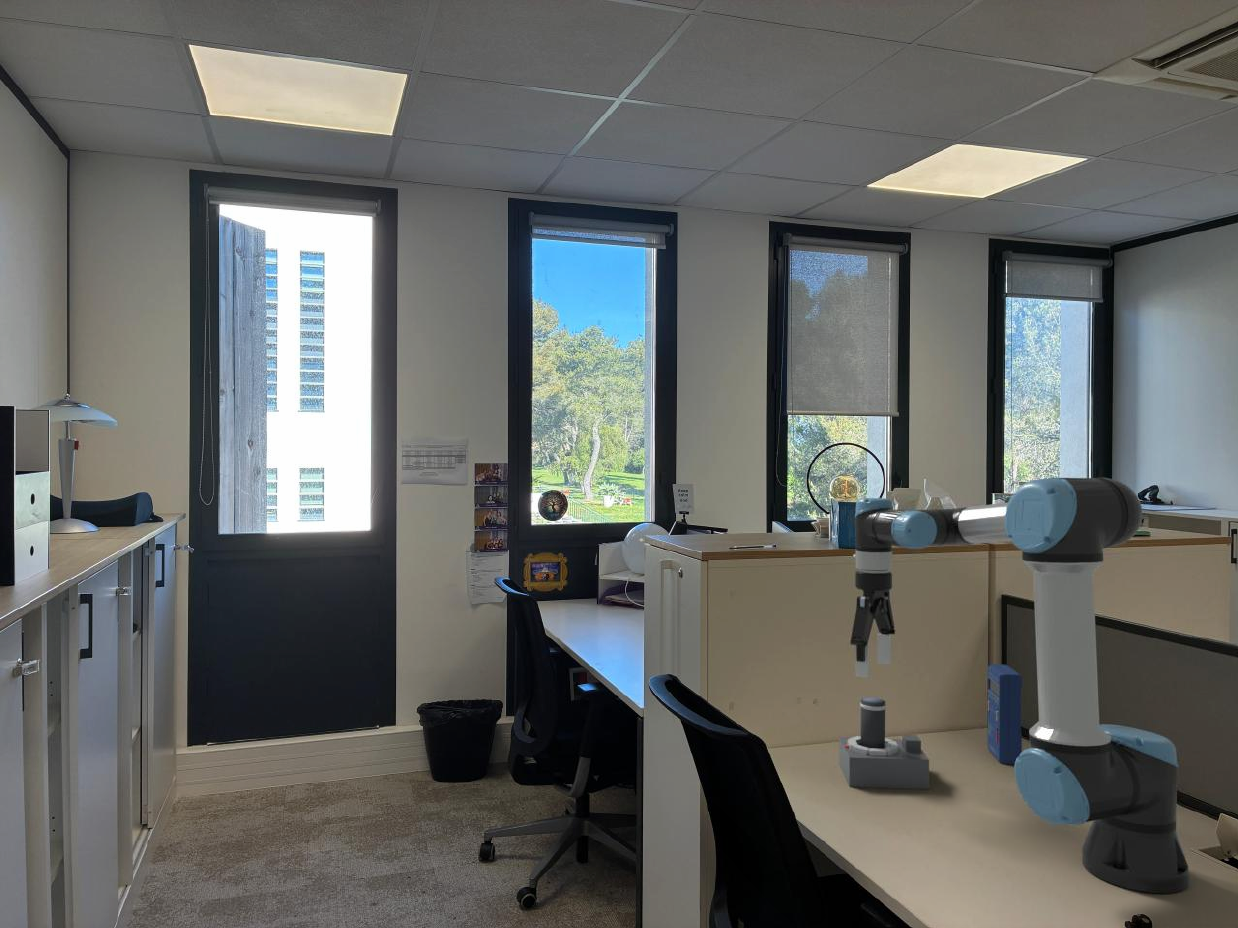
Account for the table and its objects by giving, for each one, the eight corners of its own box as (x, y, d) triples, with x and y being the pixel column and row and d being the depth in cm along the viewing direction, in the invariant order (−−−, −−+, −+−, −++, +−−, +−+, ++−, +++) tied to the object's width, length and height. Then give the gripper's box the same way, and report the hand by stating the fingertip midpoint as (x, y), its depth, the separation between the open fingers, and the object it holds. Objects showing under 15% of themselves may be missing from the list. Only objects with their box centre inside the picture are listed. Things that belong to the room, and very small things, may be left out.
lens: (888, 746, 188) (889, 699, 188) (880, 753, 184) (880, 704, 184) (865, 742, 191) (865, 695, 191) (856, 748, 187) (856, 700, 187)
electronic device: (985, 749, 204) (986, 663, 204) (1009, 750, 204) (1009, 664, 204) (998, 763, 195) (999, 673, 195) (1022, 764, 194) (1023, 674, 194)
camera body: (929, 788, 180) (929, 747, 180) (849, 786, 182) (849, 745, 182) (913, 766, 193) (913, 728, 193) (839, 764, 195) (839, 726, 195)
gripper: (876, 563, 200) (875, 657, 200) (834, 575, 179) (834, 679, 179) (909, 565, 195) (909, 661, 195) (870, 578, 175) (870, 685, 175)
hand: (873, 670), depth 187 cm, fingers open, 13 cm apart
